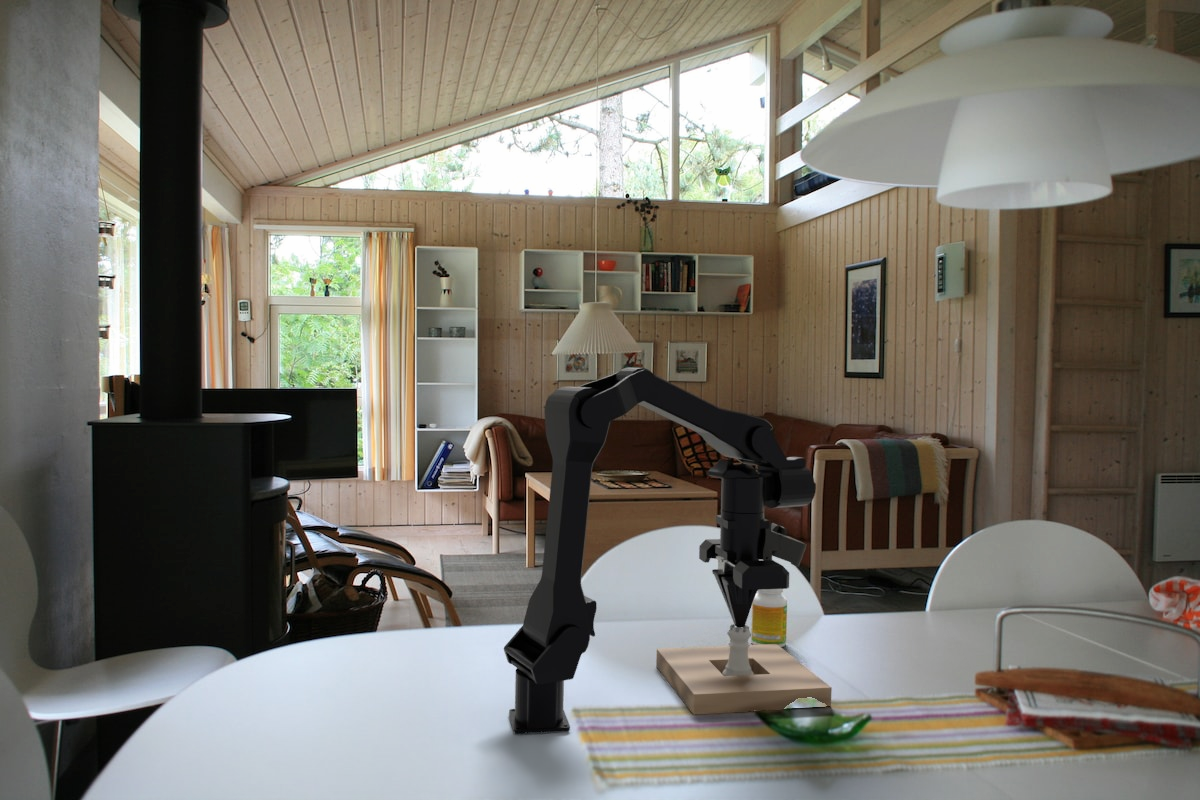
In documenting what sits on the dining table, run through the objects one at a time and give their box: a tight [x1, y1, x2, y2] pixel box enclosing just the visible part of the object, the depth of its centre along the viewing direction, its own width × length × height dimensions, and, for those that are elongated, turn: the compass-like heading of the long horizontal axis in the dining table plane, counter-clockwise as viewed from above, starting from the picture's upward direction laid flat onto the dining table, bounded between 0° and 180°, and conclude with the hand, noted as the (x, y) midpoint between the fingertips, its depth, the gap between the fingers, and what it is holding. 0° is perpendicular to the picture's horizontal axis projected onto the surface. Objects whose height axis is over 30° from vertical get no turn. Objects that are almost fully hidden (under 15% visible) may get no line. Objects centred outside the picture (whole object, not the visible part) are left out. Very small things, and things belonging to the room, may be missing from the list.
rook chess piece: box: [722, 623, 754, 676], centre depth 119 cm, size 4×4×8 cm
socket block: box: [655, 644, 833, 716], centre depth 119 cm, size 18×18×2 cm
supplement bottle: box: [750, 589, 788, 648], centre depth 138 cm, size 5×5×10 cm
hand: (739, 626), depth 119 cm, fingers closed, pressing on rook chess piece
